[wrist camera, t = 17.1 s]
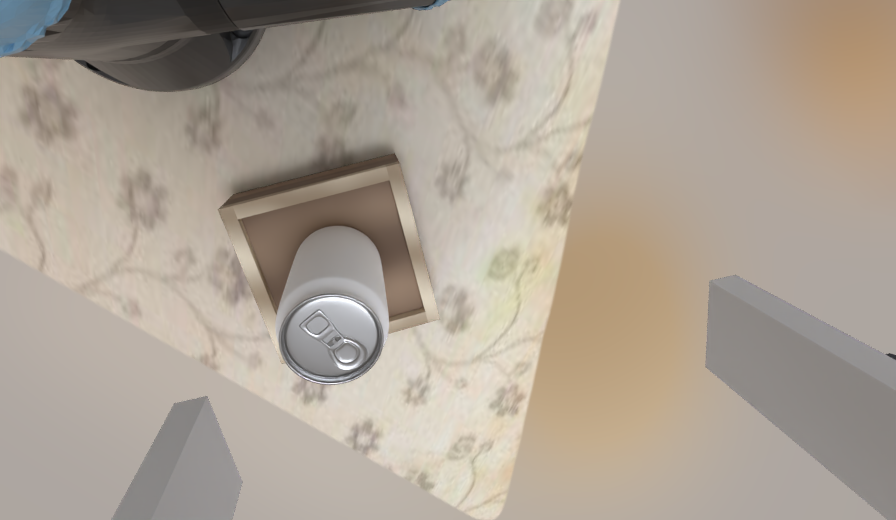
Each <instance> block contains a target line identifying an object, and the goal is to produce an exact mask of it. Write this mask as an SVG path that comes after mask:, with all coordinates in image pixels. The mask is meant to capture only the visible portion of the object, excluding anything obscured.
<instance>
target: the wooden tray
mask: <svg viewBox="0 0 896 520" xmlns="http://www.w3.org/2000/svg"><path fill="white" fill-rule="evenodd" d="M218 211H219V213H220V215H221V218H222V220H223V223H224V225H225V228H226V230H227V232H228V235H229V237H230V240H231V242H232V245H233V247H234V249H235V252H236V254H237V257H238V259H239V262H240V264H241V266H242V269H243V271H244V274H245V276H246V278H247V281H248V283H249V286H250V288H251V291H252V293H253V295H254V298H255V300H256V303H257V305H258V308H259V310H260V312H261V315H262V317H263V320H264V322H265V324H266V327H267V329H268V332H269V334H270V337H271V339H272V341H273V344H274V346H275V349H276V351H277V354H278V356H279V358H280V361H281V363H282V364H284V363H285V361H284V359H283V357H282V355H281V352H280V349H279V343H278V341H277V337H276V331H275V322H276V315H277V311H278V307H279V304H280V301H281V298H282V295H283V291H284V288H285V285H286V282H287V279H288V276H289V273H290V270H291V267H292V264H293V261H294V258H295V256H296V253H297V251H298V249H299V247H300V245H301V244H302V242H303V241H304V240H305V239H306V238H307V237H308V236H309V235H310V234H312V233H313V232H315V231H317V230H319V229H322V228H325V227H329V226H346V227H350V228H353V229H356V230H358V231H360V232H362V233H363V234H365V235H366V236H367V237H368V238H369V239H370V240H371V241H372V242H373V243H374V245H375V246H376V248H377V250H378V252H379V255H380V259H381V264H382V271H383V277H384V284H385V292H386V299H387V306H388V315H389V331H388V334H390V333H393V332H397V331H400V330H404V329H407V328H411V327H414V326H418V325H421V324H425V323H428V322H432V321H435V320H439V319H440V317H439V313H438V309H437V306H436V302H435V298H434V294H433V290H432V286H431V282H430V278H429V275H428V271H427V267H426V263H425V259H424V255H423V251H422V247H421V244H420V240H419V236H418V232H417V228H416V224H415V220H414V217H413V213H412V209H411V205H410V201H409V197H408V193H407V189H406V186H405V182H404V178H403V174H402V170H401V166H400V163H399V161H398V159H397V157H396V155H395V154H391V155H387V156H383V157H379V158H375V159H371V160H367V161H363V162H359V163H355V164H351V165H347V166H343V167H339V168H336V169H332V170H328V171H324V172H320V173H316V174H312V175H308V176H304V177H300V178H296V179H292V180H288V181H284V182H280V183H276V184H272V185H269V186H265V187H261V188H257V189H253V190H249V191H245V192H241V193H237V194H233V195H232V196H231V197H230V198H229V199H228V200H227V201H226V202H225V203H224V204H223V205H222V206H221V207H220V208H219V209H218Z"/></svg>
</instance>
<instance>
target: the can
mask: <svg viewBox="0 0 896 520" xmlns="http://www.w3.org/2000/svg"><path fill="white" fill-rule="evenodd" d="M275 331H276V337H277V341H278V343H279V349H280V352H281V355H282V357H283V359H284V361H285V363H286V364H287V365H288V367H289V368H290V369H291V370H292V371H293V372H295V373H296V374H297V375H299V376H300V377H302V378H304V379H306V380H308V381H311V382H314V383H318V384H325V385H336V384H342V383H347V382H350V381H352V380H355V379H357V378H359V377H361V376H362V375H364V374H365V373H366V372H368V371H369V370H370V369H371V368H372V367H373V365H374V364H375V363H376V361H377V360H378V358H379V356H380V354H381V351H382V348H383V347H384V345H385V342H386V340H387V336H388V331H389V315H388V306H387V299H386V292H385V284H384V277H383V271H382V264H381V259H380V255H379V252H378V250H377V248H376V246H375V245H374V243H373V242H372V241H371V240H370V239H369V238H368V237H367V236H366V235H365V234H363V233H362V232H360V231H358V230H356V229H353V228H350V227H346V226H329V227H325V228H322V229H319V230H317V231H315V232H313V233H312V234H310V235H309V236H308V237H307V238H306V239H305V240H304V241H303V242H302V244H301V245H300V247H299V249H298V251H297V253H296V256H295V258H294V261H293V264H292V267H291V270H290V273H289V276H288V279H287V282H286V285H285V288H284V291H283V295H282V298H281V301H280V304H279V307H278V311H277V315H276V322H275Z"/></svg>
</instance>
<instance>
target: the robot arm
mask: <svg viewBox="0 0 896 520" xmlns="http://www.w3.org/2000/svg"><path fill="white" fill-rule="evenodd" d="M447 1H449V0H0V57H4V56H9V57H29V58H50V59H70V60H75V61H76V62H78V63H79V64H80V65H82V66H84V67H85V68H87V69H88V70H90V71H92V72H94V73H96V74H98V75H100V76H102V77H104V78H106V79H108V80H111V81H113V82H116V83H119V84H122V85H125V86H128V87H132V88H136V89H142V90H147V91H159V92H171V91H184V90H192V89H197V88H201V87H204V86H208V85H210V84H213V83H215V82H217V81H220V80H222V79H223V78H225V77H227V76H228V75H230V74H231V73H233V72H234V71H235V70H236V69H238V68H239V67H240V66H241V65H242V64H243V63H244V62H245V61H246V60H247V59H248V58H249V56H250V55H251V54H252V52H253V51H254V50H255V48H256V46H257V45H258V43H259V41H260V39H261V37H262V35H263V33H264V30H265V28H267V27H274V26H282V25H289V24H296V23H304V22H311V21H318V20H325V19H333V18H340V17H347V16H354V15H362V14H369V13H376V12H383V11H391V10H398V9H405V8H413V9H416V10H430V9H432V8H433V7H438V6H441V5H442V4H444V3H446V2H447ZM706 368H707V369H709V370H710V371H711V372H712V373H713V374H715V375H716V376H717V377H718V378H720V379H721V380H722V381H723V382H724V383H726V384H727V385H728V386H729V387H730V388H731V389H732V390H734V391H735V392H736V393H737V394H738V395H740V396H741V397H742V398H743V399H744V400H746V401H747V402H748V403H749V404H750V405H751V406H753V407H754V408H755V409H756V410H758V411H759V412H760V413H761V414H762V415H763V416H765V417H766V418H767V419H768V420H769V421H771V422H772V423H773V424H774V425H775V426H776V427H778V428H779V429H780V430H781V431H782V432H784V433H785V434H786V435H787V436H788V437H790V438H791V439H792V440H793V441H794V442H795V443H797V444H798V445H799V446H800V447H801V448H803V449H804V450H805V451H806V452H807V453H809V454H810V455H811V456H812V457H813V458H815V459H816V460H817V461H818V462H819V463H821V464H822V465H823V466H824V467H825V468H826V469H828V470H829V471H830V472H831V473H832V474H834V475H835V476H836V477H837V478H838V479H840V480H841V481H842V482H843V483H844V484H845V485H847V486H848V487H849V488H850V489H851V490H853V491H854V492H855V493H856V494H857V495H859V496H860V497H861V498H862V499H863V500H865V501H866V502H867V503H868V504H870V506H872V507H873V508H874V509H875V510H876V511H878V512H879V513H880V514H881V515H882V516H884V517H885V518H886V519H887V520H896V355H893V354H890V353H889V354H883V353H882V352H880V351H878V350H876V349H874V348H872V347H870V346H868V345H866V344H865V343H863V342H861V341H859V340H857V339H855V338H853V337H851V336H850V335H848V334H846V333H844V332H842V331H840V330H838V329H836V328H835V327H833V326H831V325H829V324H827V323H825V322H823V321H821V320H819V319H818V318H816V317H814V316H812V315H810V314H808V313H806V312H805V311H803V310H801V309H799V308H797V307H795V306H793V305H791V304H789V303H788V302H786V301H784V300H782V299H780V298H778V297H776V296H774V295H773V294H771V293H769V292H767V291H765V290H763V289H761V288H759V287H757V286H756V285H754V284H752V283H750V282H748V281H746V280H744V279H743V278H740V277H739V276H737V275H733V276H728V277H724V278H720V279H715V280H711V281H710V282H709V302H708V323H707V346H706ZM241 486H242V480H241V477H240V475H239V472H238V470H237V467H236V465H235V463H234V460H233V457H232V455H231V453H230V450H229V448H228V445H227V443H226V440H225V438H224V436H223V433H222V431H221V428H220V426H219V423H218V421H217V418H216V416H215V414H214V411H213V409H212V406H211V404H210V401H209V399H208V397H207V396H205V397H201V398H197V399H192V400H187V401H183V402H179V403H174V405H173V407H172V409H171V411H170V413H169V414H168V416H167V418H166V420H165V422H164V424H163V425H162V427H161V429H160V431H159V433H158V435H157V437H156V438H155V440H154V442H153V444H152V446H151V448H150V449H149V451H148V453H147V455H146V457H145V459H144V461H143V462H142V464H141V466H140V468H139V470H138V472H137V473H136V475H135V477H134V479H133V481H132V483H131V485H130V487H129V488H128V490H127V492H126V494H125V496H124V497H123V499H122V501H121V503H120V505H119V507H118V508H117V510H116V512H115V514H114V516H113V518H112V520H232V519H233V515H234V512H235V508H236V504H237V501H238V497H239V493H240V490H241Z"/></svg>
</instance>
